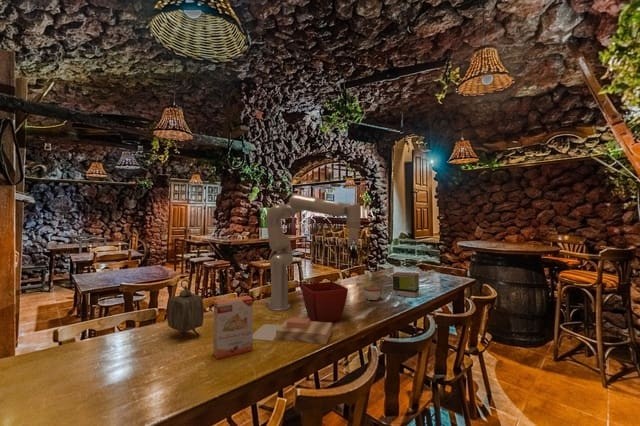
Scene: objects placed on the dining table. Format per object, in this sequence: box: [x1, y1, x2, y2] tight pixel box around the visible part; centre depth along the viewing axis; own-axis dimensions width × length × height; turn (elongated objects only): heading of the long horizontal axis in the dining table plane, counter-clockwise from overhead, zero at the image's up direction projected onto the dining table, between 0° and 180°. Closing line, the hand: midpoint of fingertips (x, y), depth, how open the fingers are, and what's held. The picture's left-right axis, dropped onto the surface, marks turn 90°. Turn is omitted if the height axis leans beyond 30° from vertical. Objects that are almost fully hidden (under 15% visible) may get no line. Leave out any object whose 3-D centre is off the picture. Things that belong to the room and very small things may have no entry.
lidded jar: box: [363, 284, 381, 301], centre depth 190 cm, size 11×11×9 cm
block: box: [287, 317, 311, 329], centre depth 134 cm, size 9×6×2 cm, turn 78°
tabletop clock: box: [166, 279, 205, 339], centre depth 133 cm, size 14×9×25 cm, turn 56°
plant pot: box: [300, 281, 349, 323], centre depth 155 cm, size 19×19×17 cm
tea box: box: [392, 271, 420, 299], centre depth 201 cm, size 15×10×15 cm, turn 58°
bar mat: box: [253, 323, 282, 342], centre depth 137 cm, size 11×18×1 cm, turn 168°
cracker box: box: [212, 295, 254, 360], centre depth 117 cm, size 14×6×21 cm, turn 122°
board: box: [275, 318, 333, 345], centre depth 133 cm, size 22×14×4 cm, turn 78°
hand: (353, 257), depth 163 cm, fingers open, 9 cm apart
